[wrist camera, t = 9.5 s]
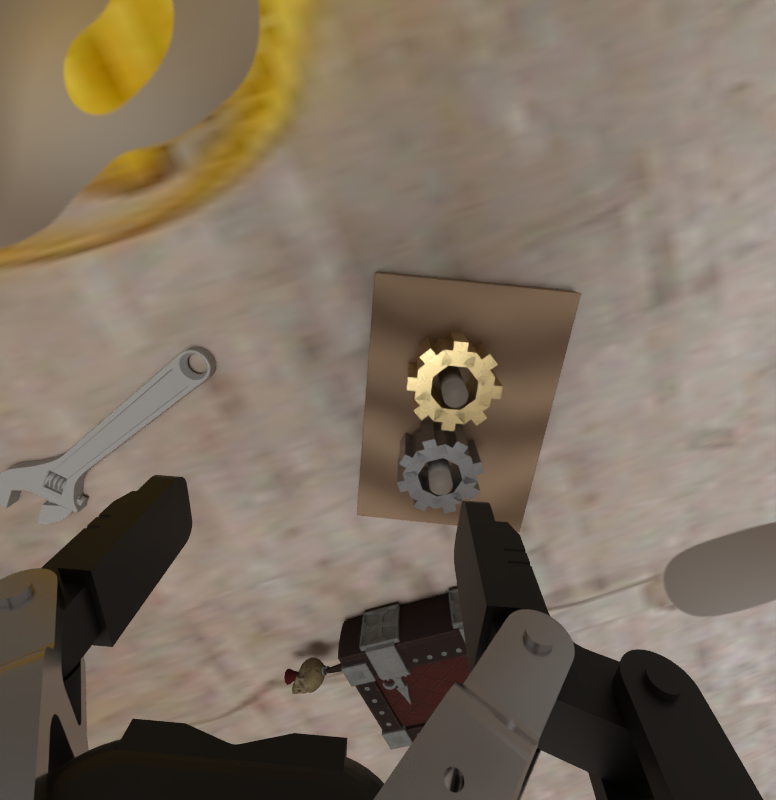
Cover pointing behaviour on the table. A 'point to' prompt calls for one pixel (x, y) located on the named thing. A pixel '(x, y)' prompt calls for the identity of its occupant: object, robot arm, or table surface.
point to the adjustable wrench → (100, 442)
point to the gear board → (508, 418)
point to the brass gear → (478, 387)
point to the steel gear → (431, 447)
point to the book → (398, 663)
